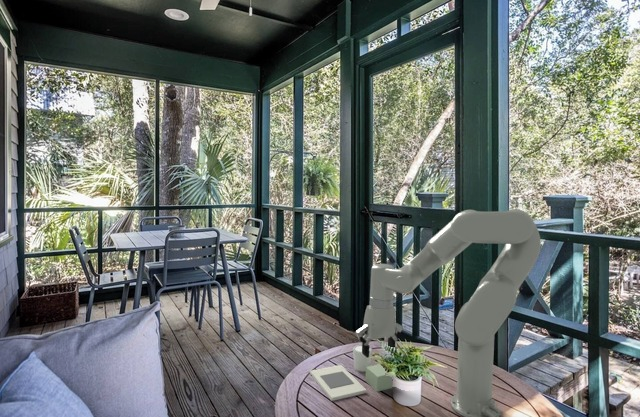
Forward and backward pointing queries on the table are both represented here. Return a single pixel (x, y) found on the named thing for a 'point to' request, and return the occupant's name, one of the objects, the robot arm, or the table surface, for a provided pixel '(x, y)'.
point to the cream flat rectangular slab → (337, 382)
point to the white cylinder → (361, 358)
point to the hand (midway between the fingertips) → (378, 353)
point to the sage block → (378, 378)
